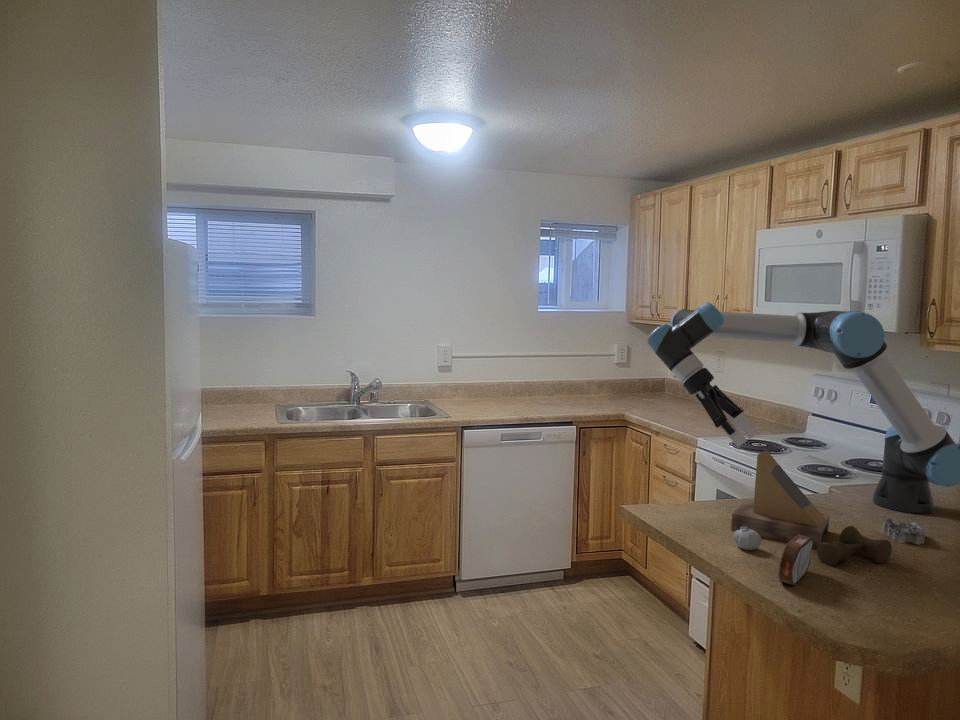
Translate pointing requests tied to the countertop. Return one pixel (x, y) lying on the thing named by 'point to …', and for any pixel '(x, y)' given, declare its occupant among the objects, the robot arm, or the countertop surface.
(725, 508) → the countertop surface
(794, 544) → the tin
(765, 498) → the sandwich container
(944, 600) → the countertop surface
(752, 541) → the garlic
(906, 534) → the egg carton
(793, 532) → the walnut shelf
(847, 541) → the kendama
